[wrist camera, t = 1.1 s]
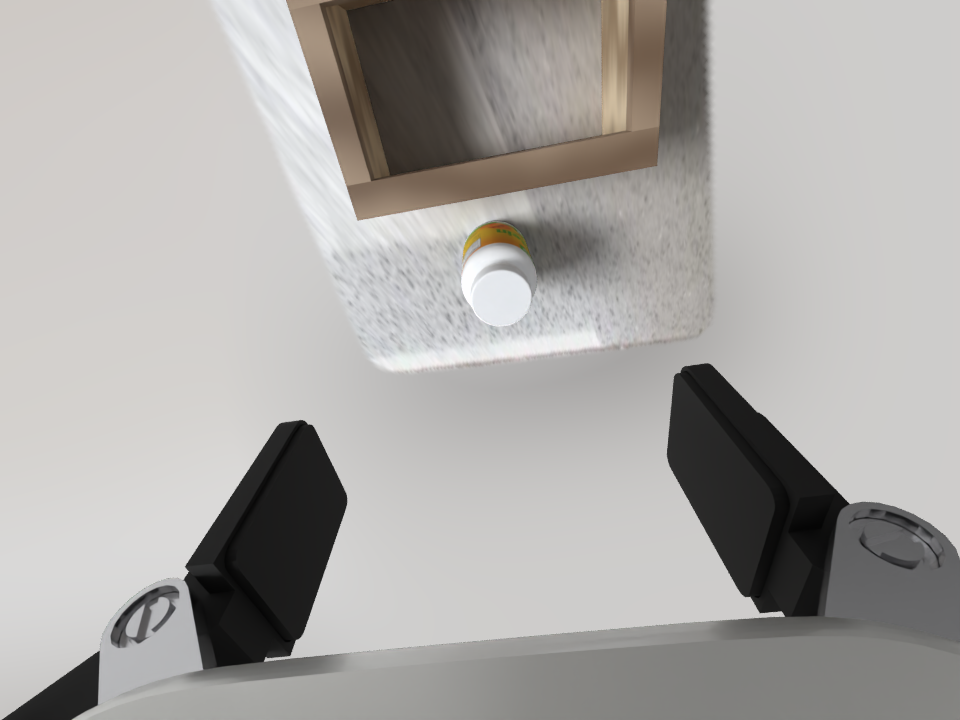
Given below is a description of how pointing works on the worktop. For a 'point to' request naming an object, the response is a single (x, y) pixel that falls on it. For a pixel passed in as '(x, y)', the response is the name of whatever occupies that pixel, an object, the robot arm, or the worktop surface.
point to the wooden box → (622, 147)
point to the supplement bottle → (498, 273)
